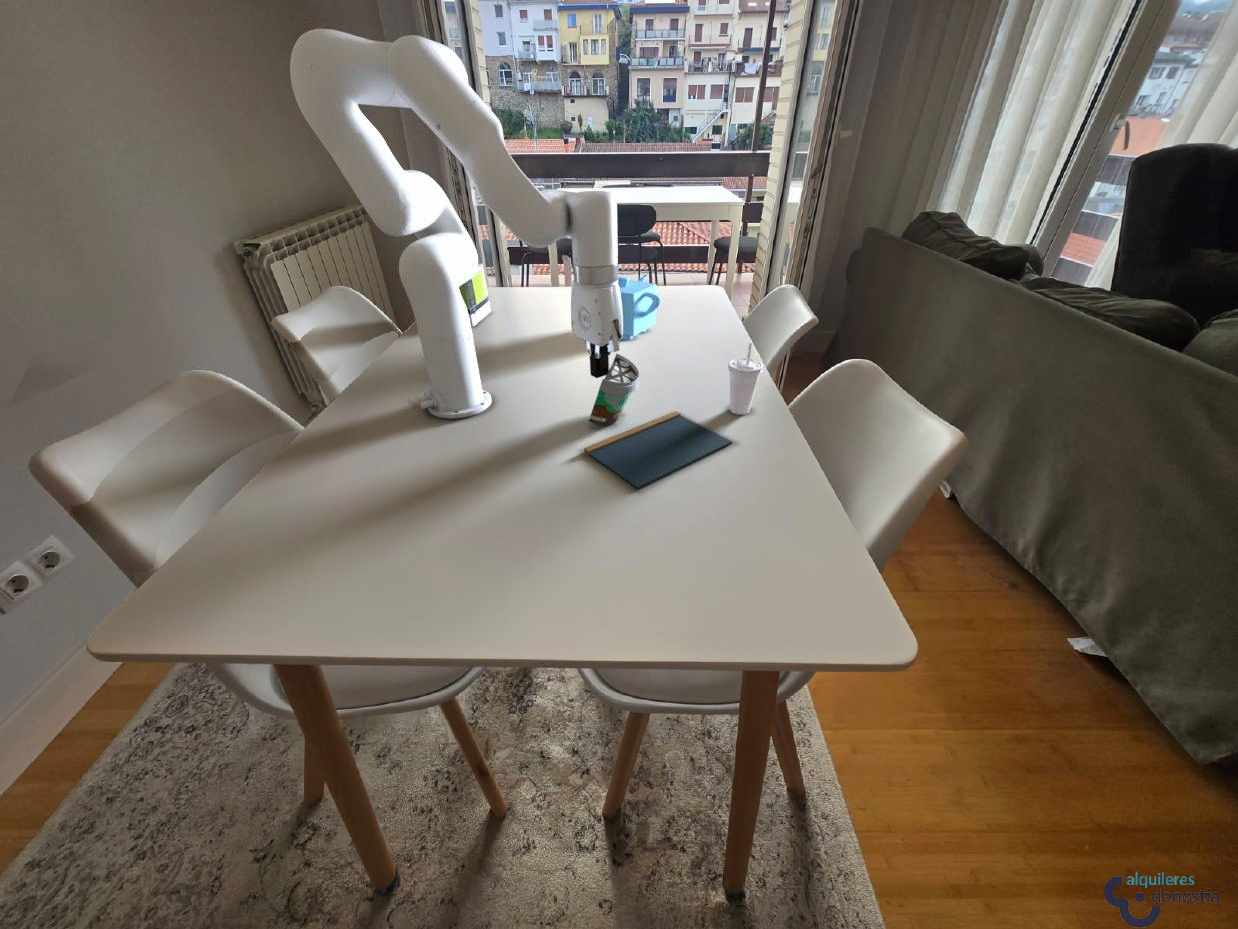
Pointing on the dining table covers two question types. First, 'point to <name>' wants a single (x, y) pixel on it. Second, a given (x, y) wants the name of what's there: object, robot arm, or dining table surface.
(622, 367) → the food container
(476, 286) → the tea box
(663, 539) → the dining table surface
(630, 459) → the dark blue notebook
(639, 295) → the teakettle
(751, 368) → the smoothie
